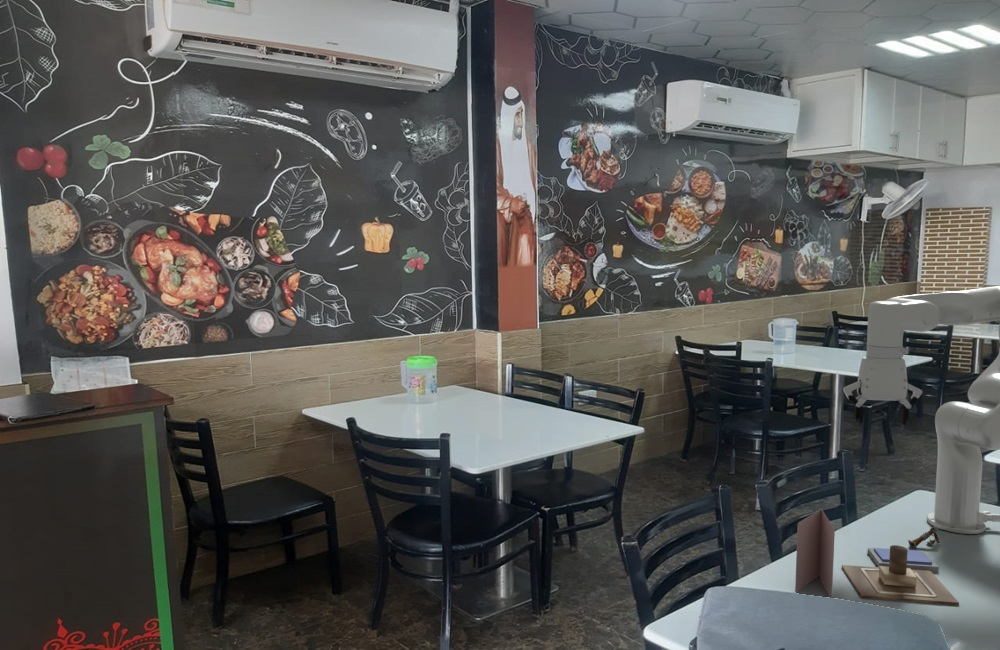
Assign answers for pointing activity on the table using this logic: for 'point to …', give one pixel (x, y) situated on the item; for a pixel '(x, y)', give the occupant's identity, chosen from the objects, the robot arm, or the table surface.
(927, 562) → the ink pad
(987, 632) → the table surface
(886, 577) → the stamp
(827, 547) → the greeting card
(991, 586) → the table surface
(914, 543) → the wooden post with brackets
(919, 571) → the marked board
